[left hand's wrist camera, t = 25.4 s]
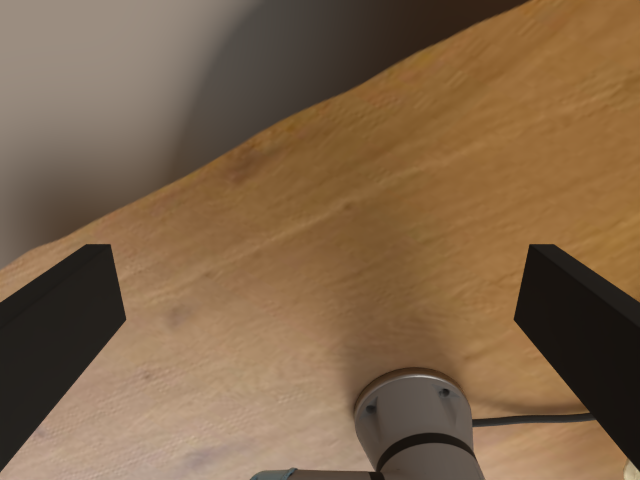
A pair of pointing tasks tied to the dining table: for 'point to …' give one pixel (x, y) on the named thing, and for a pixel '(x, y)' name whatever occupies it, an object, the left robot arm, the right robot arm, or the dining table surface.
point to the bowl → (630, 471)
